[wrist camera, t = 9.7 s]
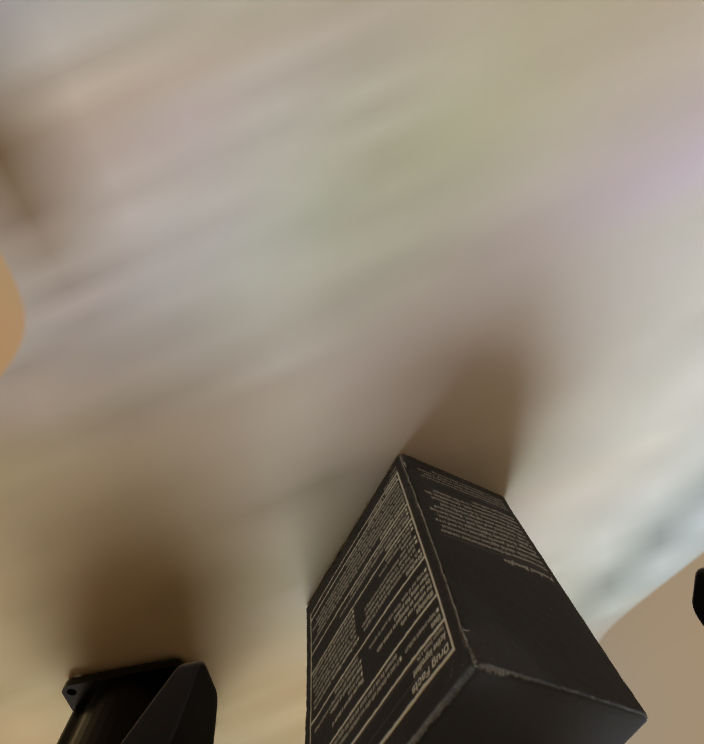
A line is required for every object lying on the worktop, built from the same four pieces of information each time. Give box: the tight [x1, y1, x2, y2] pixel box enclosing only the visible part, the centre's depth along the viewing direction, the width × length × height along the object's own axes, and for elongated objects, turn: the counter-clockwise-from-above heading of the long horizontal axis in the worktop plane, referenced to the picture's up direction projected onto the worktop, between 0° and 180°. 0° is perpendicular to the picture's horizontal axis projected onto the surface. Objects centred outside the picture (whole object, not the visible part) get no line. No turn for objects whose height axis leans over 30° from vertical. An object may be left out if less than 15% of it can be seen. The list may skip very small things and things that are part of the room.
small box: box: [305, 455, 648, 744], centre depth 18 cm, size 11×6×10 cm, turn 153°
